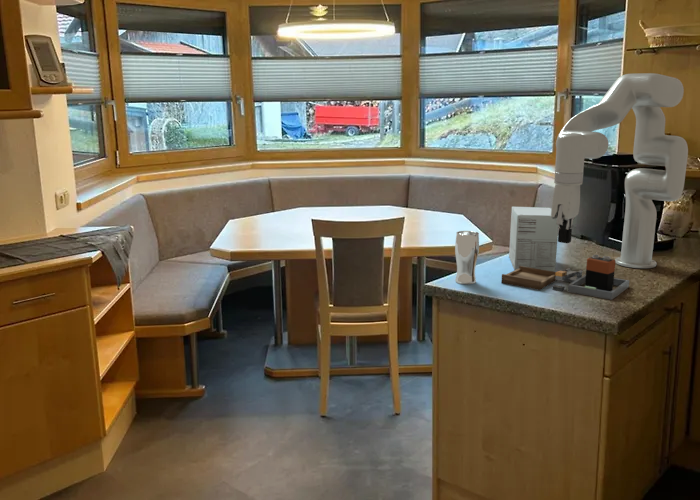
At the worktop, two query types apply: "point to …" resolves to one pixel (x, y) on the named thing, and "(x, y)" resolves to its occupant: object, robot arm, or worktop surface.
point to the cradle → (592, 291)
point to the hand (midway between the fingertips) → (564, 242)
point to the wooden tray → (529, 278)
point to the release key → (565, 275)
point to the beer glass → (466, 256)
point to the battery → (600, 272)
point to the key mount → (568, 280)
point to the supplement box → (533, 238)
